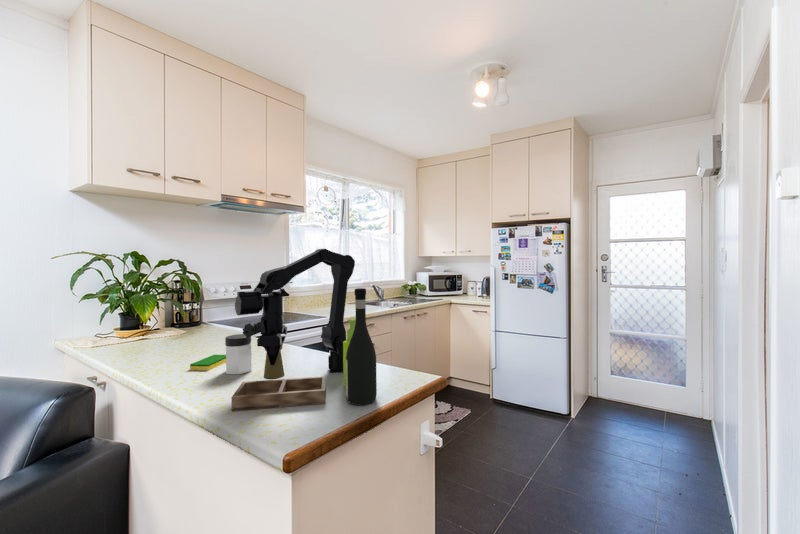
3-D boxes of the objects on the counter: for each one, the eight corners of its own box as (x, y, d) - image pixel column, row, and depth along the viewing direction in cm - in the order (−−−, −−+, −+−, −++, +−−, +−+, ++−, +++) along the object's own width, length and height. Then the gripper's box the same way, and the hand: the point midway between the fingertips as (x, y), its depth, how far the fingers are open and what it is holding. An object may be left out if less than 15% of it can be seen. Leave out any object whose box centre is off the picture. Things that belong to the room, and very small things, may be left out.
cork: (287, 373, 114) (287, 338, 114) (279, 379, 108) (278, 342, 108) (269, 373, 115) (268, 338, 115) (259, 379, 109) (259, 342, 109)
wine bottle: (340, 402, 97) (338, 289, 96) (358, 393, 103) (357, 287, 103) (364, 408, 92) (363, 290, 92) (382, 398, 99) (381, 288, 99)
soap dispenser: (368, 381, 113) (367, 317, 113) (356, 388, 107) (355, 320, 107) (352, 379, 116) (351, 316, 116) (339, 386, 110) (338, 319, 109)
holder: (325, 388, 108) (325, 376, 108) (325, 403, 96) (325, 390, 96) (242, 394, 104) (242, 381, 103) (231, 411, 92) (231, 397, 92)
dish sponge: (189, 371, 128) (189, 364, 128) (213, 360, 142) (213, 354, 142) (208, 371, 127) (208, 364, 127) (231, 360, 141) (231, 354, 141)
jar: (252, 372, 124) (252, 337, 123) (226, 376, 120) (225, 340, 120) (250, 366, 132) (250, 332, 132) (225, 369, 128) (225, 335, 128)
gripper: (251, 309, 119) (252, 356, 119) (237, 317, 101) (238, 374, 101) (286, 307, 121) (287, 354, 121) (279, 316, 103) (280, 371, 103)
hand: (273, 363), depth 112 cm, fingers closed on cork, 4 cm apart
